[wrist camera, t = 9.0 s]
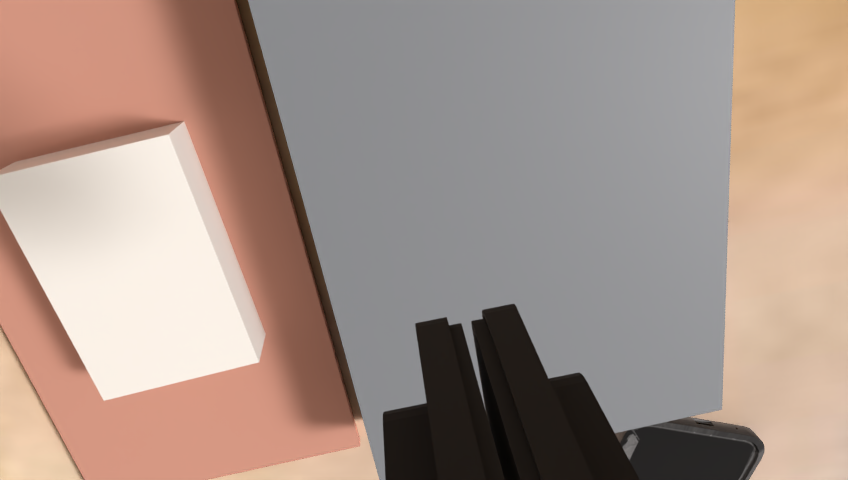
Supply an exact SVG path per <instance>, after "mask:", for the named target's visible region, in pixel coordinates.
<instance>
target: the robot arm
mask: <svg viewBox="0 0 848 480" xmlns="http://www.w3.org/2000/svg"><path fill="white" fill-rule="evenodd" d="M482 318H483V319H478V320H473V321H471V324H472V331H473V337H474V343H475V349H476V355H477V361H478V367H479V373H480V379H481V385H482V392H483V398H484V403H483V400H482V396H481V392H480V389H479V385H478V381H477V378H476V374H475V371H474V367H473V363H472V360H471V356H470V352H469V349H468V345H467V342H466V338H465V334H464V331H463V327H462V324H461V323H458V324H453V325H449V324H448V320H447V317H444V318H439V319H434V320H429V321H424V322H419V323H415V328H416V334H417V341H418V348H419V355H420V361H421V368H422V375H423V382H424V388H425V395H426V402H427V403H425V404H420V405H415V406H410V407H405V408H400V409H395V410H390V411H385V412H383V438H384V459H385V480H640V479H639V478H638V476H637V474H636V472H635V470H634V468H633V466H632V465H631V463H630V461H629V459H628V457H627V455H626V453H625V451H624V450H623V448H622V446H621V444H620V442H619V440H618V438H617V436H616V435H615V433H614V431H613V429H612V427H611V425H610V423H609V422H608V420H607V418H606V416H605V414H604V412H603V410H602V408H601V407H600V405H599V403H598V401H597V399H596V397H595V395H594V394H593V392H592V390H591V388H590V386H589V384H588V382H587V381H586V379H585V378H584V376H583V375H582V374H581V373H580V372H579V373H574V374H569V375H564V376H559V377H554V378H548V376H547V374H546V372H545V370H544V367H543V365H542V363H541V361H540V358H539V356H538V354H537V352H536V349H535V347H534V345H533V343H532V340H531V338H530V336H529V334H528V332H527V329H526V327H525V325H524V323H523V320H522V318H521V316H520V314H519V311H518V309H517V307H516V305H515V304H509V305H504V306H499V307H494V308H489V309H484V310H482ZM484 404H485V407H484Z"/></svg>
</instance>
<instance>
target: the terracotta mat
mask: <svg viewBox="0 0 848 480" xmlns="http://www.w3.org/2000/svg"><path fill="white" fill-rule="evenodd" d="M183 121H184V122H185V125H186V127H187V130H188V132H189V135H190V138H191V140H192V143H193V146H194V148H195V151H196V153H197V156H198V159H199V161H200V164H201V166H202V169H203V172H204V174H205V177H206V180H207V182H208V185H209V187H210V190H211V193H212V195H213V198H214V200H215V203H216V206H217V208H218V211H219V214H220V216H221V219H222V221H223V224H224V227H225V229H226V232H227V234H228V237H229V240H230V242H231V245H232V248H233V250H234V253H235V255H236V258H237V261H238V263H239V266H240V268H241V271H242V274H243V276H244V279H245V281H246V284H247V287H248V289H249V292H250V295H251V297H252V300H253V302H254V305H255V308H256V310H257V313H258V315H259V318H260V321H261V323H262V326H263V329H264V331H265V334H266V335H265V339H264V344H263V348H262V352H261V356H260V361H259V363H254V364H250V365H246V366H242V367H238V368H234V369H230V370H226V371H222V372H218V373H214V374H210V375H206V376H202V377H198V378H194V379H190V380H186V381H182V382H178V383H174V384H170V385H166V386H162V387H158V388H154V389H150V390H146V391H142V392H137V393H133V394H129V395H125V396H121V397H117V398H113V399H109V400H105V401H104V400H103V398H102V397H101V395H100V393H99V391H98V389H97V387H96V385H95V384H94V382H93V380H92V378H91V376H90V374H89V373H88V371H87V369H86V367H85V365H84V363H83V361H82V360H81V358H80V356H79V354H78V352H77V350H76V349H75V347H74V345H73V343H72V341H71V339H70V338H69V336H68V334H67V332H66V330H65V328H64V326H63V325H62V323H61V321H60V319H59V317H58V315H57V314H56V312H55V310H54V308H53V306H52V304H51V303H50V301H49V299H48V297H47V295H46V293H45V291H44V290H43V288H42V286H41V284H40V282H39V280H38V279H37V277H36V275H35V273H34V271H33V269H32V267H31V266H30V264H29V262H28V260H27V258H26V256H25V255H24V253H23V251H22V249H21V247H20V245H19V244H18V242H17V240H16V238H15V236H14V234H13V232H12V231H11V229H10V227H9V225H8V223H7V221H6V220H5V218H4V216H3V214H2V212H1V210H0V324H1V326H2V328H3V330H4V332H5V334H6V336H7V337H8V339H9V341H10V343H11V345H12V347H13V348H14V350H15V352H16V354H17V356H18V358H19V360H20V361H21V363H22V365H23V367H24V369H25V371H26V372H27V374H28V376H29V378H30V380H31V382H32V384H33V385H34V387H35V389H36V391H37V393H38V395H39V397H40V398H41V400H42V402H43V404H44V406H45V408H46V409H47V411H48V413H49V415H50V417H51V419H52V421H53V422H54V424H55V426H56V428H57V430H58V432H59V434H60V435H61V437H62V439H63V441H64V443H65V445H66V446H67V448H68V450H69V452H70V454H71V456H72V458H73V459H74V461H75V463H76V465H77V467H78V469H79V470H80V472H81V474H82V476H83V478H84V480H208V479H213V478H217V477H222V476H226V475H231V474H235V473H240V472H244V471H249V470H254V469H258V468H263V467H267V466H272V465H276V464H281V463H285V462H290V461H295V460H299V459H304V458H308V457H313V456H317V455H322V454H326V453H331V452H336V451H340V450H345V449H349V448H354V447H358V446H360V438H359V435H358V431H357V428H356V424H355V421H354V417H353V413H352V410H351V406H350V403H349V399H348V396H347V392H346V389H345V385H344V382H343V378H342V374H341V371H340V367H339V364H338V360H337V357H336V353H335V350H334V346H333V343H332V339H331V335H330V332H329V328H328V325H327V321H326V318H325V314H324V311H323V307H322V304H321V300H320V296H319V293H318V289H317V286H316V282H315V279H314V275H313V272H312V268H311V265H310V261H309V258H308V254H307V250H306V247H305V243H304V240H303V236H302V233H301V229H300V226H299V222H298V219H297V215H296V211H295V208H294V204H293V201H292V197H291V194H290V190H289V187H288V183H287V180H286V176H285V172H284V169H283V165H282V162H281V158H280V155H279V151H278V148H277V144H276V141H275V137H274V133H273V130H272V126H271V123H270V119H269V116H268V112H267V109H266V105H265V102H264V98H263V94H262V91H261V87H260V84H259V80H258V77H257V73H256V70H255V66H254V63H253V59H252V56H251V52H250V48H249V45H248V41H247V38H246V34H245V31H244V27H243V24H242V20H241V17H240V13H239V9H238V6H237V2H236V0H0V170H1V169H3V168H4V167H6V166H8V165H10V164H12V163H14V162H16V161H20V160H24V159H29V158H33V157H37V156H41V155H45V154H49V153H54V152H58V151H62V150H66V149H70V148H74V147H79V146H83V145H87V144H91V143H95V142H100V141H104V140H108V139H112V138H116V137H120V136H125V135H129V134H133V133H137V132H141V131H145V130H150V129H154V128H158V127H162V126H166V125H170V124H175V123H179V122H183Z"/></svg>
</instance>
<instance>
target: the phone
mask: <svg viewBox="0 0 848 480" xmlns="http://www.w3.org/2000/svg"><path fill="white" fill-rule="evenodd" d="M696 422H699V423H705V424H710V425H711V426H709V425H703V424H697V423H696ZM735 427H736V428H738V429H736V428H735ZM615 435H616V436H617V438H618V440H619V442H620V444H621V446H622V448H623V450H624V451H625V453H626V455H627V457H628V459H629V461H630V463H631V465H632V466H633V468H634V470H635V472H636V474H637V476H638V478H639V479H640V480H749V479H750V477H751V475H752V474H753V472H754V470H755V469H756V467H757V465H758V464H759V462H760V460H761V459H762V456H763V454H764V444H763V442H762V441H761V440H760V439H759V438H758V436H757V435H756V434H755V433H754V432H753V431H752V430H751V429H750V428H747V427H744V426H739V425H733V424H727V423H721V422H715V421H709V420H703V419H697V418H691V417H686V418H681V419H677V420H672V421H668V422H663V423H659V424H654V425H650V426H645V427H641V428H636V429H632V430H627V431H623V432H618V433H615Z"/></svg>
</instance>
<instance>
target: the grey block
mask: <svg viewBox="0 0 848 480" xmlns="http://www.w3.org/2000/svg"><path fill="white" fill-rule="evenodd" d="M248 2H249V6H250V10H251V13H252V17H253V21H254V24H255V28H256V32H257V35H258V39H259V43H260V46H261V50H262V53H263V57H264V61H265V64H266V68H267V72H268V75H269V79H270V83H271V86H272V90H273V94H274V97H275V101H276V104H277V108H278V112H279V115H280V119H281V123H282V126H283V130H284V134H285V137H286V141H287V144H288V148H289V152H290V155H291V159H292V163H293V166H294V170H295V174H296V177H297V181H298V185H299V188H300V192H301V195H302V199H303V203H304V206H305V210H306V214H307V217H308V221H309V225H310V228H311V232H312V236H313V239H314V243H315V246H316V250H317V254H318V257H319V261H320V265H321V268H322V272H323V276H324V279H325V283H326V287H327V290H328V294H329V297H330V301H331V305H332V308H333V312H334V316H335V319H336V323H337V327H338V330H339V334H340V337H341V341H342V345H343V348H344V352H345V356H346V359H347V363H348V367H349V370H350V374H351V378H352V381H353V385H354V388H355V392H356V396H357V399H358V403H359V407H360V410H361V414H362V418H363V421H364V425H365V429H366V432H367V436H368V439H369V443H370V447H371V450H372V454H373V458H374V461H375V465H376V469H377V472H378V476H379V479H380V480H385V459H384V438H383V412H385V411H390V410H395V409H400V408H405V407H410V406H415V405H420V404H425V403H427V402H426V395H425V388H424V382H423V375H422V368H421V361H420V355H419V348H418V341H417V334H416V328H415V323H419V322H424V321H429V320H434V319H439V318H444V317H447V320H448V324H449V325H453V324H458V323H461V324H462V327H463V331H464V334H465V338H466V342H467V345H468V349H469V352H470V356H471V360H472V363H473V367H474V371H475V374H476V378H477V381H478V385H479V389H480V392H481V396H482V400H483V403H484V398H483V392H482V385H481V379H480V373H479V367H478V361H477V355H476V349H475V343H474V337H473V331H472V324H471V321H473V320H478V319H483V318H482V310H484V309H489V308H494V307H499V306H504V305H509V304H515V305H516V307H517V309H518V311H519V314H520V316H521V318H522V320H523V323H524V325H525V327H526V329H527V332H528V334H529V336H530V338H531V340H532V343H533V345H534V347H535V349H536V352H537V354H538V356H539V358H540V361H541V363H542V365H543V367H544V370H545V372H546V374H547V376H548V378H554V377H559V376H564V375H569V374H574V373H579V372H580V373H581V374H582V375H583V376H584V378H585V379H586V381H587V382H588V384H589V386H590V388H591V390H592V392H593V394H594V395H595V397H596V399H597V401H598V403H599V405H600V407H601V408H602V410H603V412H604V414H605V416H606V418H607V420H608V422H609V423H610V425H611V427H612V429H613V431H614V433H618V432H623V431H627V430H632V429H636V428H641V427H645V426H650V425H654V424H659V423H663V422H668V421H672V420H677V419H681V418H686V417H690V416H695V415H700V414H704V413H709V412H713V411H718V410H722V392H723V361H724V330H725V299H726V268H727V237H728V206H729V175H730V144H731V113H732V82H733V51H734V20H735V0H248ZM484 407H485V404H484Z"/></svg>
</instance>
